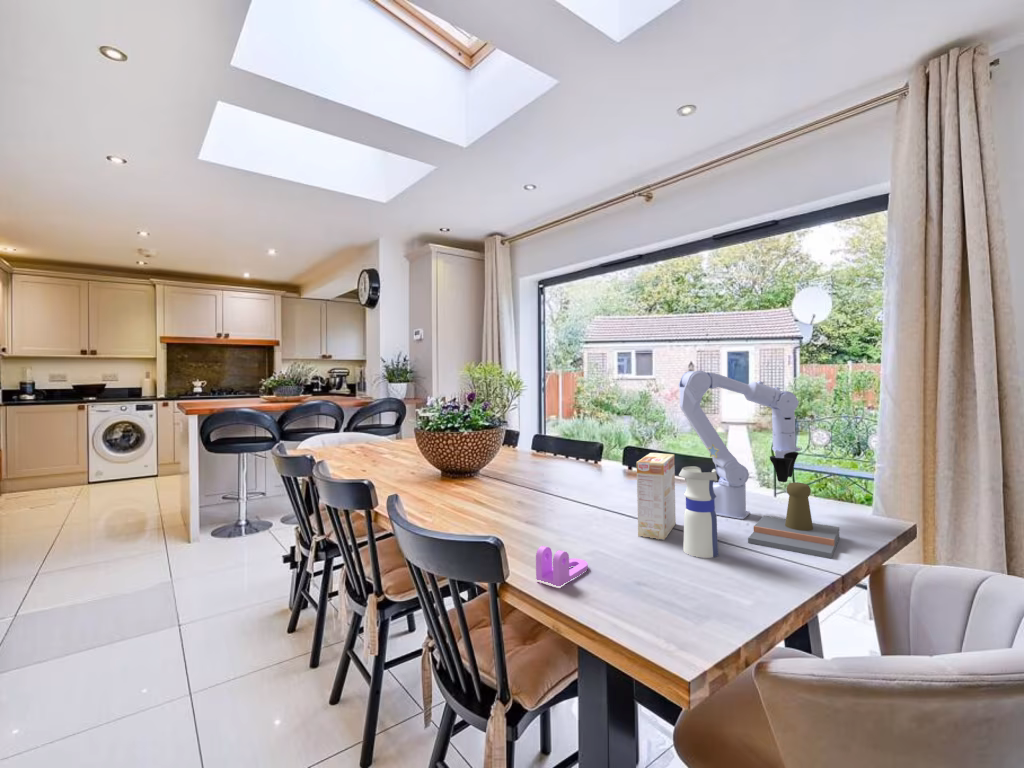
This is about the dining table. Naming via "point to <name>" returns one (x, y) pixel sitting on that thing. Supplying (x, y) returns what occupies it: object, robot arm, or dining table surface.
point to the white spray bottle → (700, 511)
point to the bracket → (557, 566)
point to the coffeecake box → (656, 495)
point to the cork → (798, 507)
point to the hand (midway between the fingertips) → (785, 479)
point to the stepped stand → (795, 537)
